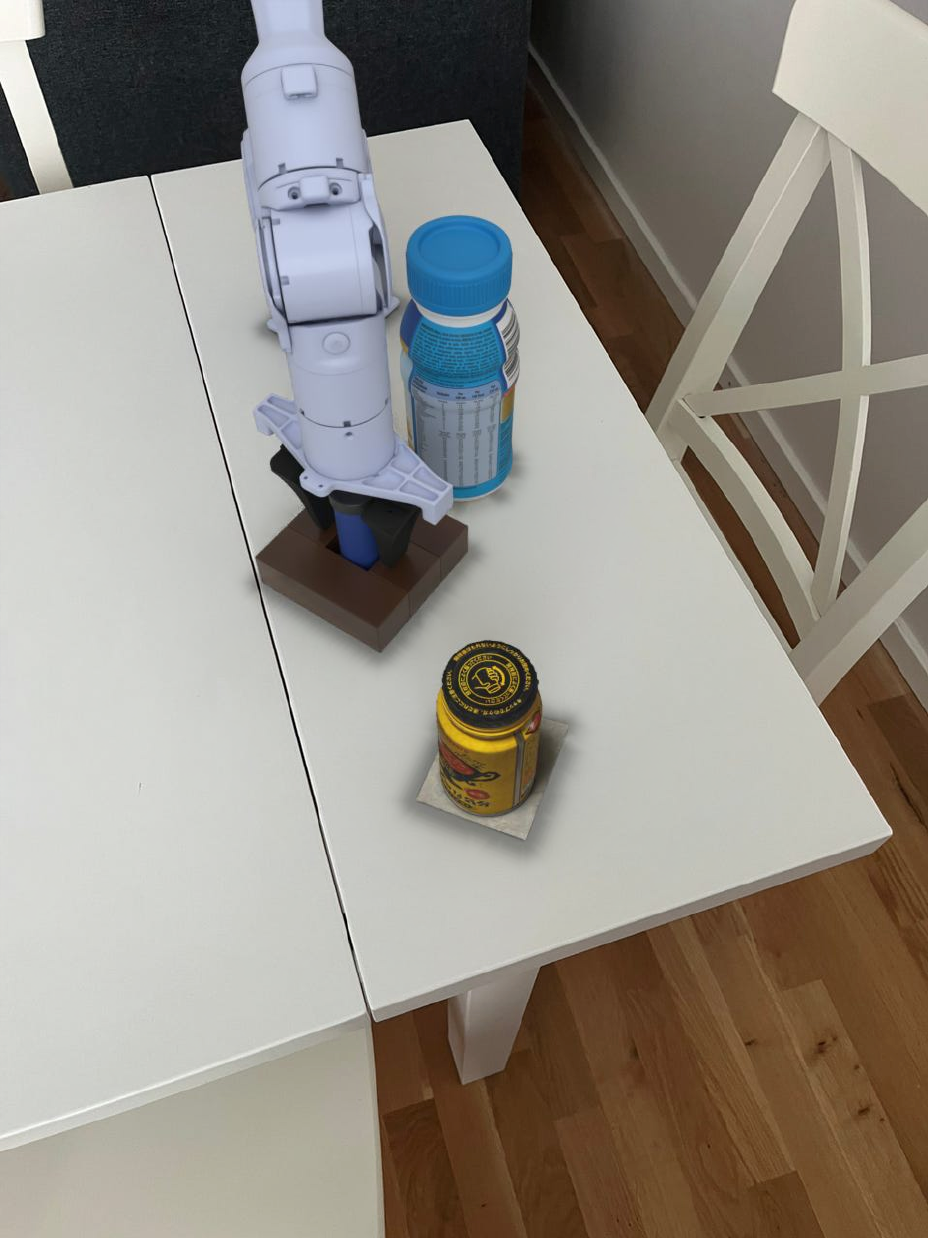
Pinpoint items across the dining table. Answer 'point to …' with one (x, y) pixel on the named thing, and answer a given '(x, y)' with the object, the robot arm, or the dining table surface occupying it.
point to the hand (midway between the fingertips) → (362, 538)
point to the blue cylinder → (354, 528)
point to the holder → (360, 575)
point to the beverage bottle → (460, 353)
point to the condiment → (492, 739)
